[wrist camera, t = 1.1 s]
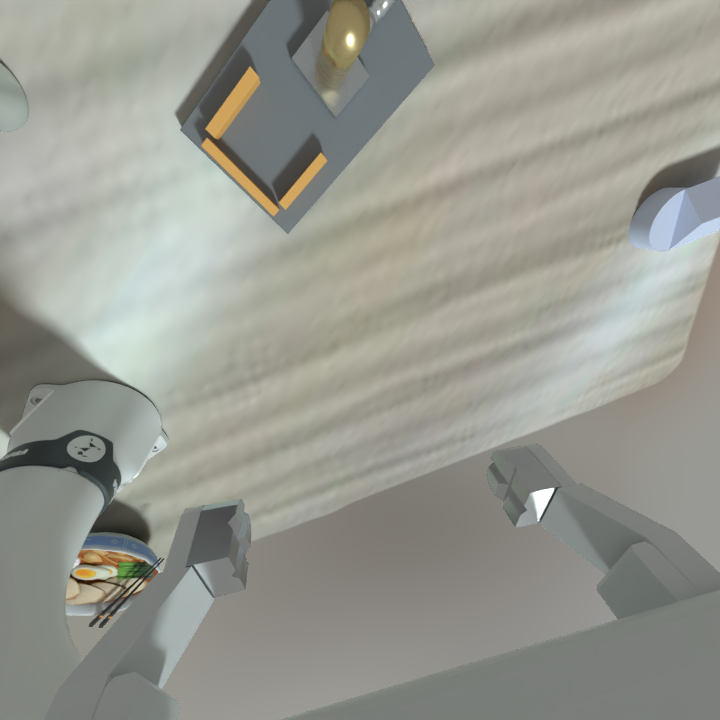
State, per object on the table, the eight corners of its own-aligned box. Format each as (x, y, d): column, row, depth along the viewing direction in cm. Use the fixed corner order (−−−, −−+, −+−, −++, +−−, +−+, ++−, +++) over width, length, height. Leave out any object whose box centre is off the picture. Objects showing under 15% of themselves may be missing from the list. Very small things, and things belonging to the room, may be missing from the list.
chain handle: (334, 119, 33) (353, 93, 23) (291, 61, 30) (293, 6, 20) (414, 22, 30) (470, -49, 21) (375, -51, 27) (421, -172, 18)
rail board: (287, 232, 39) (287, 236, 36) (184, 131, 32) (173, 126, 29) (429, 69, 34) (442, 58, 31) (341, -93, 27) (348, -127, 24)
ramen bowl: (76, 489, 52) (44, 536, 45) (199, 525, 63) (189, 567, 57) (12, 564, 58) (-25, 615, 51) (136, 585, 69) (119, 629, 62)
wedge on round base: (710, 170, 47) (634, 199, 47) (768, 168, 41) (682, 201, 41) (693, 229, 52) (624, 255, 52) (743, 234, 46) (665, 264, 46)
